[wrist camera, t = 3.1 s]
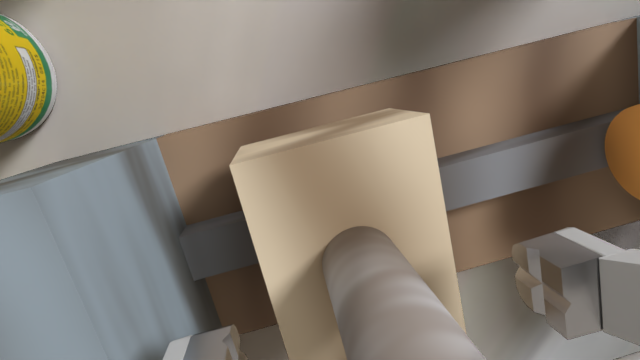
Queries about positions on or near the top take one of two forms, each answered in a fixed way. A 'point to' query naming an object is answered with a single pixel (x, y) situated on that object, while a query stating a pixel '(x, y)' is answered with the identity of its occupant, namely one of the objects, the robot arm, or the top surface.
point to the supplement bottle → (23, 81)
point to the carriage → (355, 240)
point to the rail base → (453, 127)
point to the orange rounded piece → (625, 149)
